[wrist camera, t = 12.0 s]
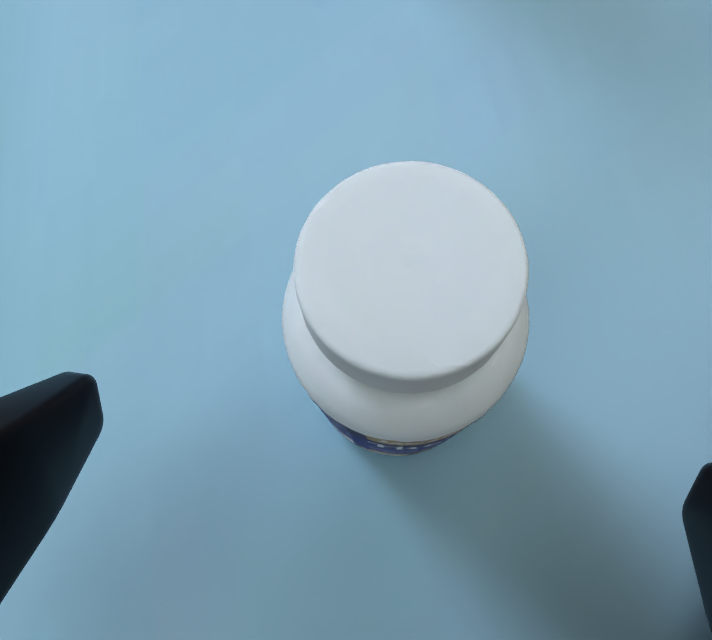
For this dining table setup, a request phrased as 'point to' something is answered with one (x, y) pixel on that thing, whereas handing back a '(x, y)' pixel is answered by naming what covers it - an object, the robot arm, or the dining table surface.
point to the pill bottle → (407, 305)
